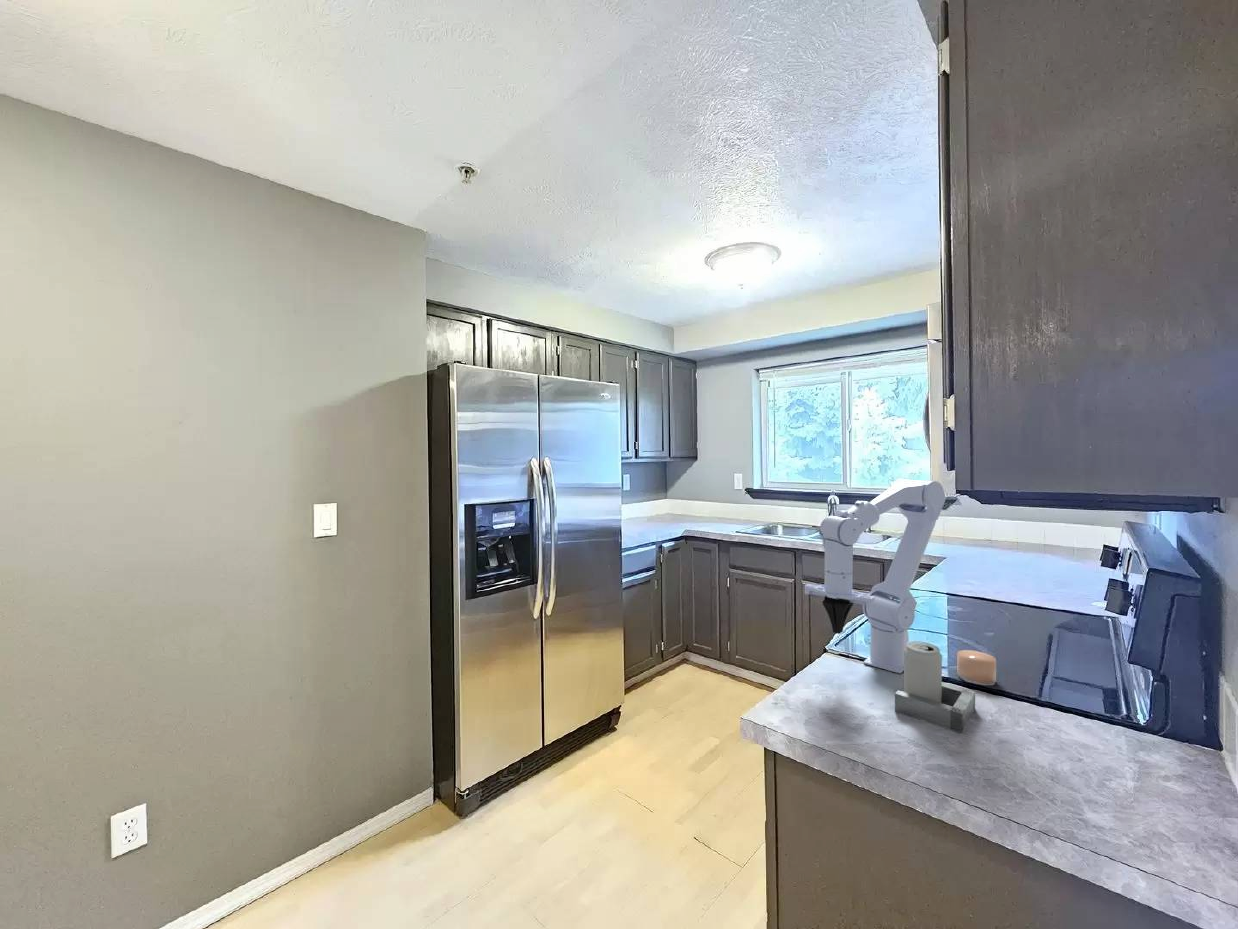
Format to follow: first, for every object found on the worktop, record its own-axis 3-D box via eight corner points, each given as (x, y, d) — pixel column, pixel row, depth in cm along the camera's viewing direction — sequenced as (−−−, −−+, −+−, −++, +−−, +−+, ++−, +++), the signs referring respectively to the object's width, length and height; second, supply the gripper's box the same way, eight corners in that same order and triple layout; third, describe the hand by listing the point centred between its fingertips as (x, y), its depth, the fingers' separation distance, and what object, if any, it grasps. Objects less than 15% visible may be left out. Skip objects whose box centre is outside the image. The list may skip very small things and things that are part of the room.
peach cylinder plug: (961, 669, 119) (961, 647, 118) (998, 678, 114) (999, 656, 113) (953, 679, 114) (953, 656, 113) (992, 689, 109) (992, 666, 109)
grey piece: (912, 690, 108) (912, 674, 108) (975, 709, 101) (975, 691, 101) (894, 711, 100) (895, 693, 100) (961, 733, 93) (962, 714, 93)
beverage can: (939, 718, 98) (940, 656, 97) (900, 708, 102) (901, 648, 101) (942, 704, 103) (944, 645, 102) (906, 695, 107) (907, 637, 106)
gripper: (798, 569, 117) (798, 628, 117) (866, 580, 107) (865, 646, 107) (812, 563, 122) (811, 620, 122) (878, 574, 112) (877, 636, 112)
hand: (837, 632), depth 115 cm, fingers closed
